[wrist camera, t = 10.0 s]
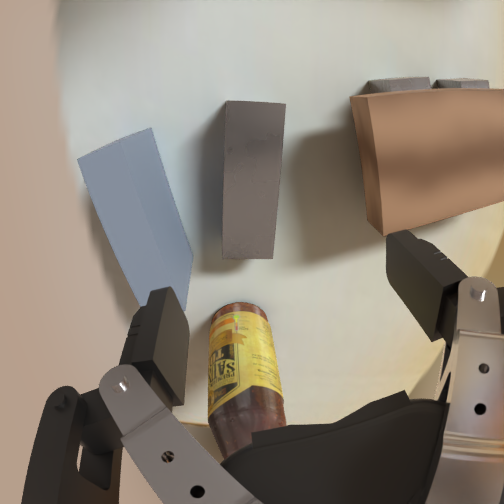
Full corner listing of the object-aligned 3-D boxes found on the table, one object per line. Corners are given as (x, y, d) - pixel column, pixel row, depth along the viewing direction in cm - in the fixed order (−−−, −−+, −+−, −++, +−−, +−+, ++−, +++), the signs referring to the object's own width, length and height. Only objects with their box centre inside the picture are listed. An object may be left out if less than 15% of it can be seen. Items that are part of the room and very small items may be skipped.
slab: (349, 96, 19) (367, 97, 17) (505, 89, 18) (526, 92, 16) (367, 220, 24) (383, 236, 21) (508, 183, 23) (527, 193, 20)
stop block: (118, 139, 22) (77, 159, 15) (151, 127, 22) (120, 141, 15) (163, 263, 28) (147, 319, 21) (193, 255, 28) (185, 311, 21)
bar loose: (226, 100, 22) (226, 100, 19) (276, 103, 23) (285, 103, 19) (222, 237, 28) (222, 258, 24) (266, 238, 28) (272, 259, 25)
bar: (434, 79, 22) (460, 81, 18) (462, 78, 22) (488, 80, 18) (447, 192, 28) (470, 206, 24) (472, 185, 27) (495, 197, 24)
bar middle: (366, 80, 22) (388, 79, 19) (403, 77, 22) (429, 77, 18) (385, 205, 28) (405, 221, 24) (418, 196, 28) (440, 211, 24)
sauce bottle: (219, 292, 30) (226, 496, 13) (278, 306, 32) (324, 494, 14) (202, 338, 33) (199, 516, 15) (255, 349, 34) (279, 517, 17)
